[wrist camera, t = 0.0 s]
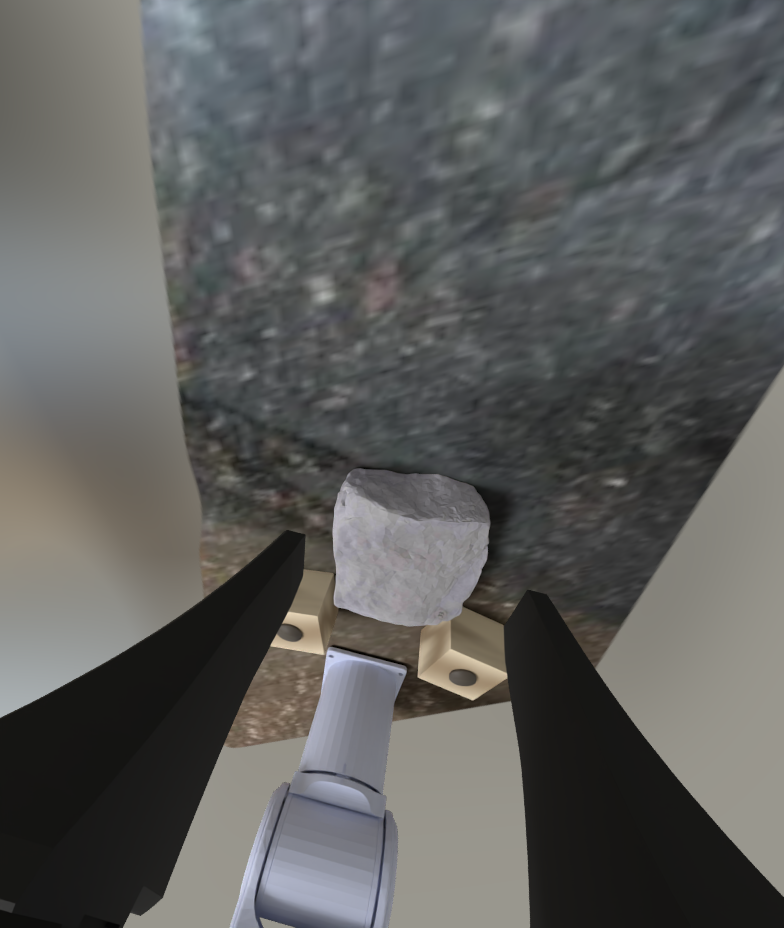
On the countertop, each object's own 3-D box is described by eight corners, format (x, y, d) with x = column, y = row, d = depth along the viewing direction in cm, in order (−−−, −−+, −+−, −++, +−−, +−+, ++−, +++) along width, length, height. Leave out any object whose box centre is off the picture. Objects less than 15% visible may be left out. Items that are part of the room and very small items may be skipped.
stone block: (488, 464, 21) (335, 458, 21) (514, 514, 17) (326, 509, 17) (454, 578, 28) (338, 577, 27) (468, 633, 24) (332, 634, 23)
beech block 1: (338, 610, 29) (323, 657, 25) (286, 602, 30) (263, 647, 26) (334, 571, 26) (316, 618, 23) (276, 564, 27) (250, 608, 24)
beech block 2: (469, 650, 29) (472, 703, 26) (421, 629, 29) (417, 680, 25) (503, 623, 27) (511, 678, 23) (450, 599, 26) (450, 651, 22)
